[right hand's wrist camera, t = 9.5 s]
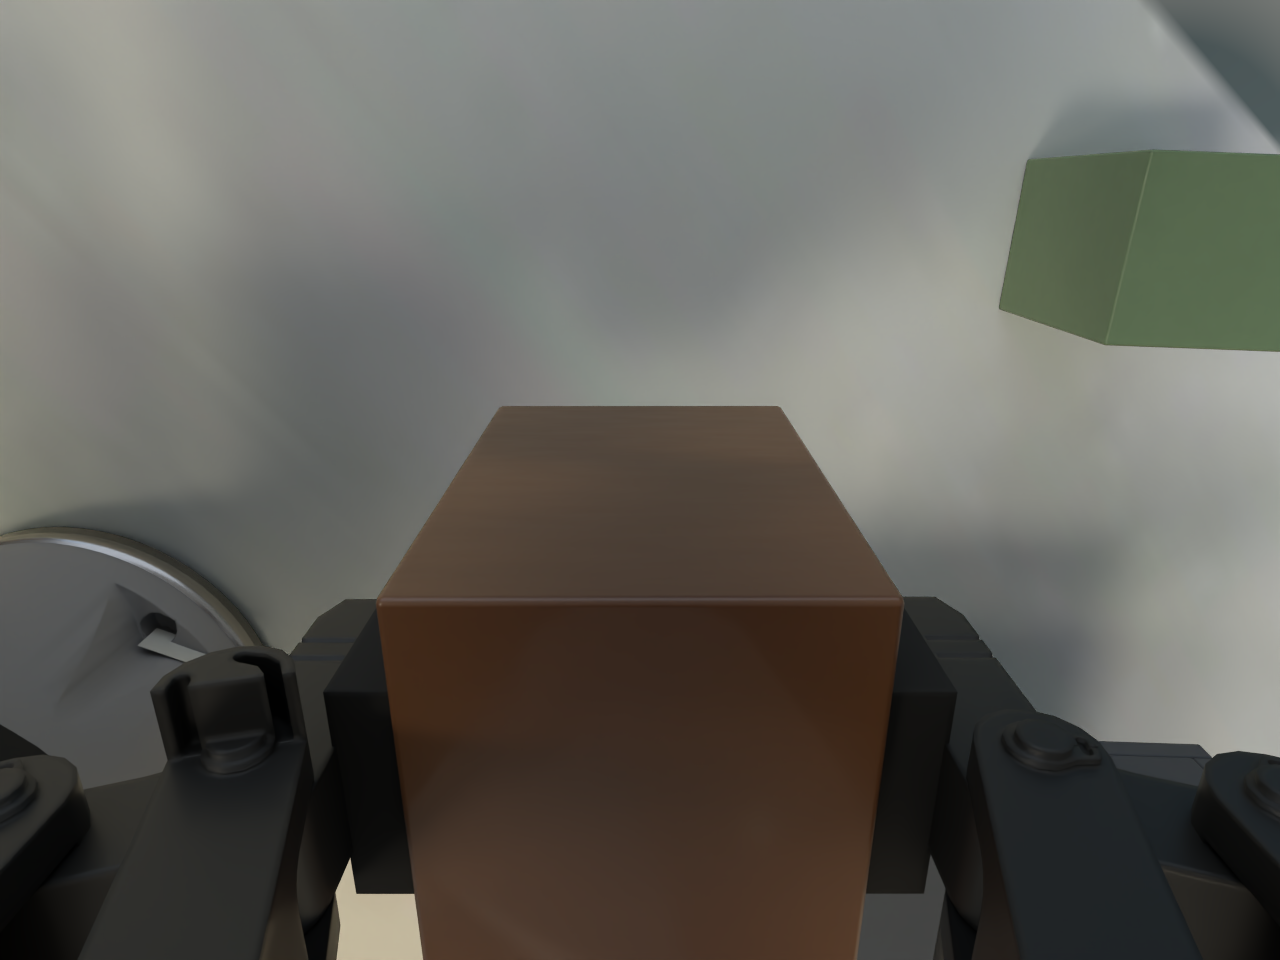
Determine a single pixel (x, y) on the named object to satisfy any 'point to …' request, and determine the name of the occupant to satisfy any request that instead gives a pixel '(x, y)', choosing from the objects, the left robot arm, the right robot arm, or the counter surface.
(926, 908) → the tray
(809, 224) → the counter surface
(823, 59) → the counter surface
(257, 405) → the counter surface
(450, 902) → the walnut block
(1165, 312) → the sage block
